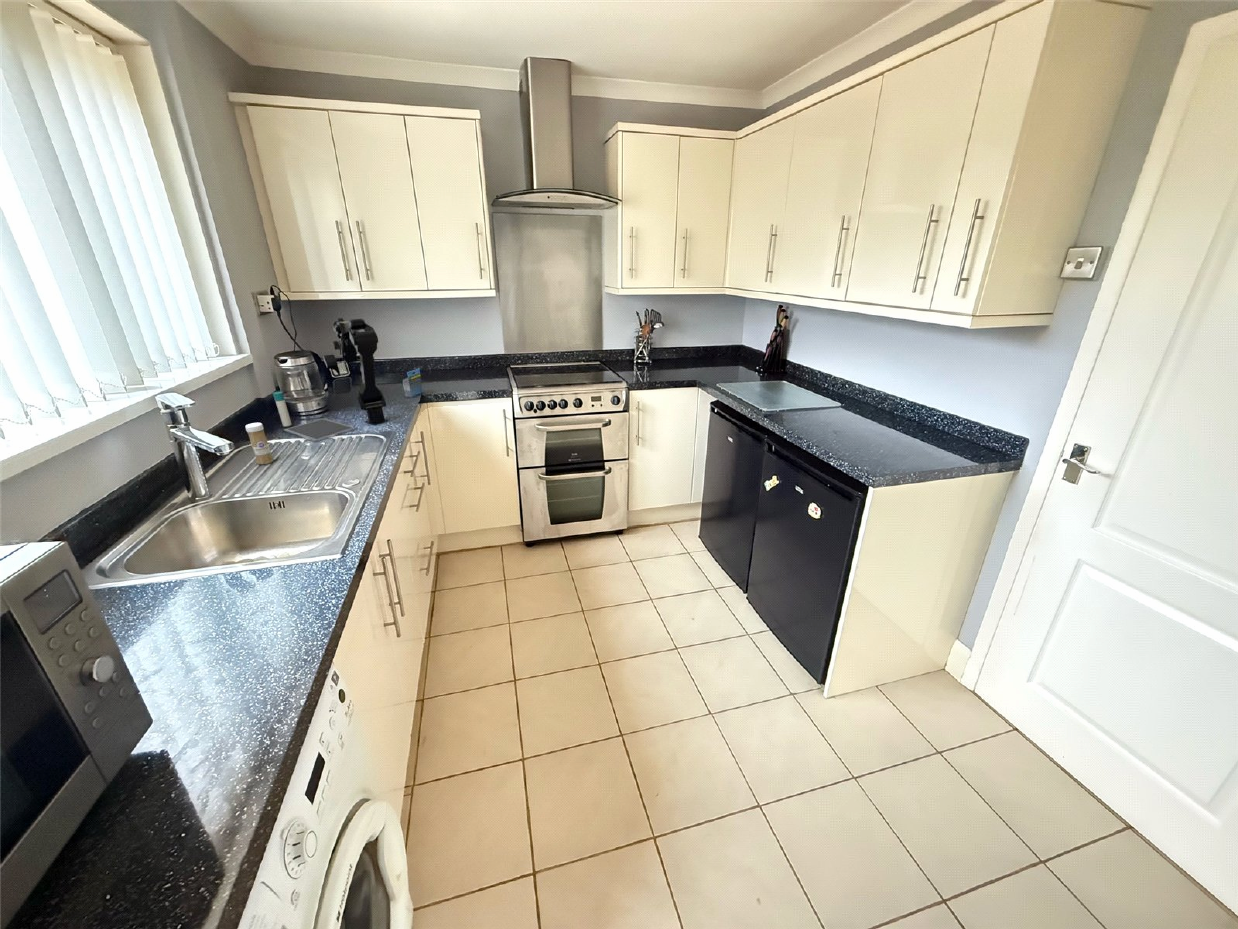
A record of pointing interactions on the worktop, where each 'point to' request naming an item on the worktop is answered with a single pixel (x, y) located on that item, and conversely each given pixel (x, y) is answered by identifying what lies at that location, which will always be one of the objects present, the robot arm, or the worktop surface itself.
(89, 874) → the worktop surface
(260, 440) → the sprinkles bottle
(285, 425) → the marker
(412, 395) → the label tape box
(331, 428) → the tablet
